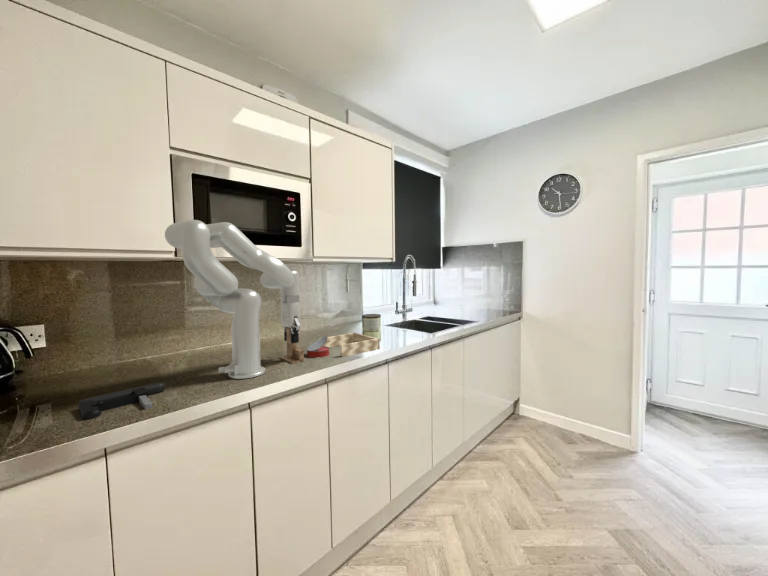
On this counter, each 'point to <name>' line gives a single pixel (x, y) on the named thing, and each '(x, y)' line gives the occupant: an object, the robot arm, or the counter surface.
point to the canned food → (318, 348)
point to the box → (353, 343)
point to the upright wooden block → (292, 350)
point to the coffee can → (371, 325)
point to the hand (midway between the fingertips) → (291, 341)
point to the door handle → (118, 400)
